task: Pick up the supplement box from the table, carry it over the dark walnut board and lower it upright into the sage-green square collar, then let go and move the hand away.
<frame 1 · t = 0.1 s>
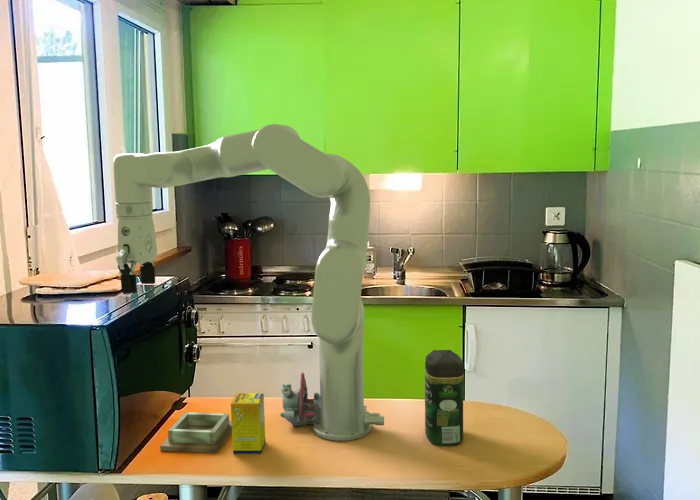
hand: (139, 288, 151), 31 cm above the countertop, tool pointing down, fingers open, 9 cm apart
coffee jar: (443, 438, 146), on the countertop
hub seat: (200, 437, 147), on the countertop
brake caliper: (302, 420, 156), on the countertop, touching arm
supplement box: (249, 449, 142), on the countertop
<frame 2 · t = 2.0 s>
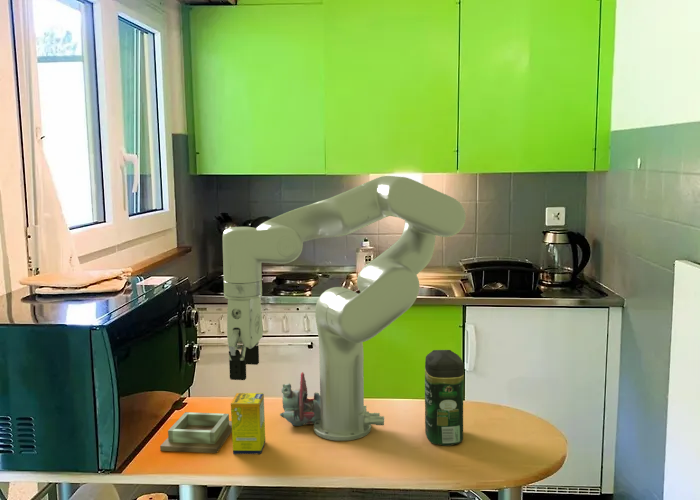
hand: (244, 371, 139), 17 cm above the countertop, tool pointing down, fingers open, 9 cm apart
nothing on the countertop moved.
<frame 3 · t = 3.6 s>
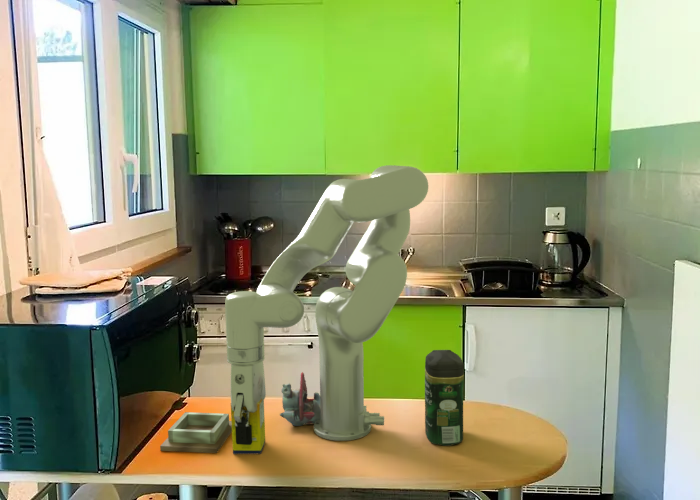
hand: (248, 435, 141), 3 cm above the countertop, tool pointing down, fingers closed on supplement box, 6 cm apart
supplement box: (249, 449, 142), on the countertop, touching gripper
everything else where it was.
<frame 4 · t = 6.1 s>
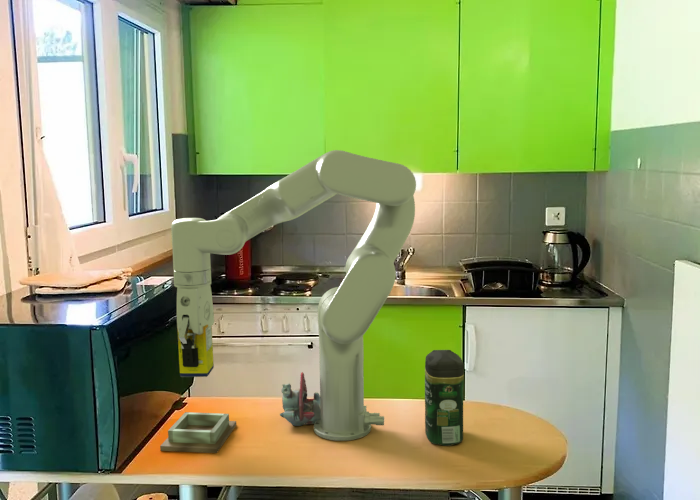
hand: (196, 360, 145), 17 cm above the countertop, tool pointing down, fingers closed on supplement box, 6 cm apart
supplement box: (197, 373, 145), point 14 cm above the countertop, touching gripper
everything else where it was.
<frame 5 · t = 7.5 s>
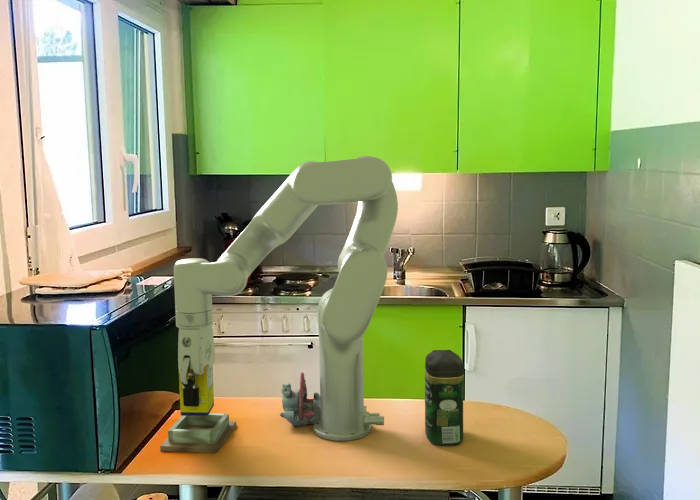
hand: (197, 398, 146), 9 cm above the countertop, tool pointing down, fingers closed on supplement box, 6 cm apart
supplement box: (197, 411, 146), point 6 cm above the countertop, touching gripper
everything else where it was.
when the fingers open (5 cm above the countertop, at t = 8.7 s): supplement box drops 1 cm, resting on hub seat.
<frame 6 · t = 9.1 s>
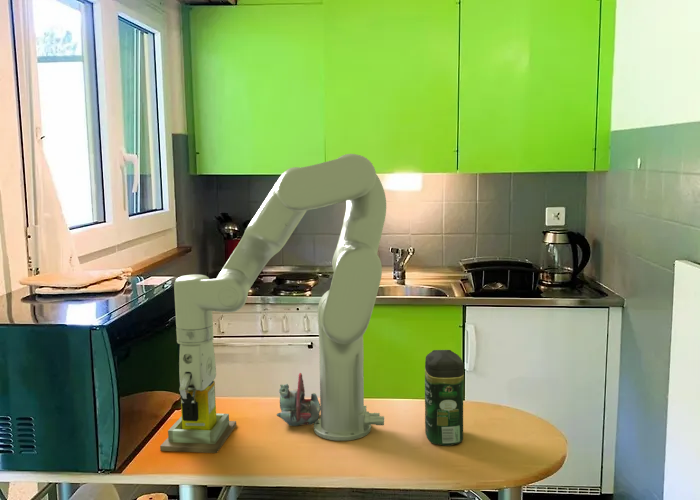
hand: (198, 411, 146), 6 cm above the countertop, tool pointing down, fingers open, 9 cm apart
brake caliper: (299, 420, 156), on the countertop
supplement box: (200, 434, 147), point 1 cm above the countertop, touching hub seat
everything else where it was.
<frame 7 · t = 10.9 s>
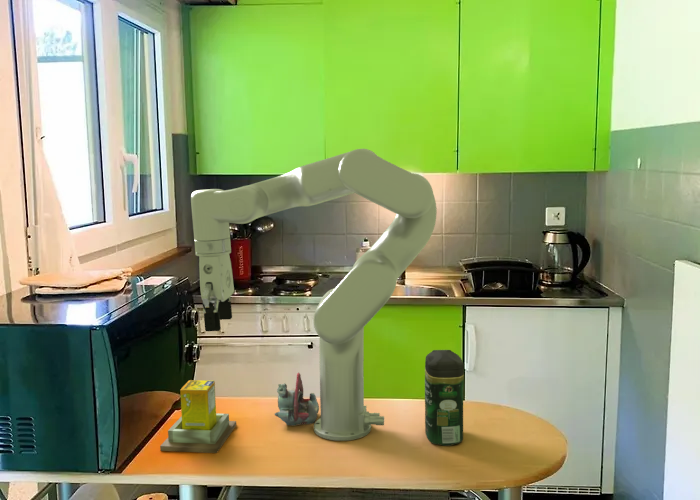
hand: (219, 324, 149), 23 cm above the countertop, tool pointing down, fingers open, 9 cm apart
nothing on the countertop moved.
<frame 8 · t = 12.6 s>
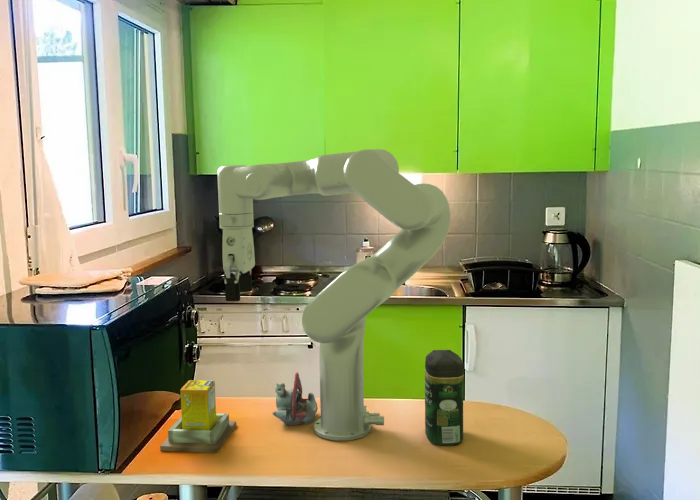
hand: (239, 296, 155), 28 cm above the countertop, tool pointing down, fingers open, 9 cm apart
nothing on the countertop moved.
at the end: supplement box 0.2 cm off-centre on the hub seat, point 0.8 cm above the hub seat's base; supplement box tilted 0°; the gripper is holding nothing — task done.
